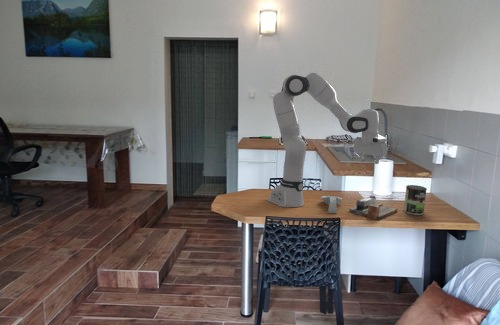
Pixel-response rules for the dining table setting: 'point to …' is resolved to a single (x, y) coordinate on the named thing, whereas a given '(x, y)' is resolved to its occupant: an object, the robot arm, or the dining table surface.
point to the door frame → (374, 211)
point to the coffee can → (415, 199)
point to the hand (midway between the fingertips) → (369, 162)
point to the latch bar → (366, 201)
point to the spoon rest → (331, 202)
